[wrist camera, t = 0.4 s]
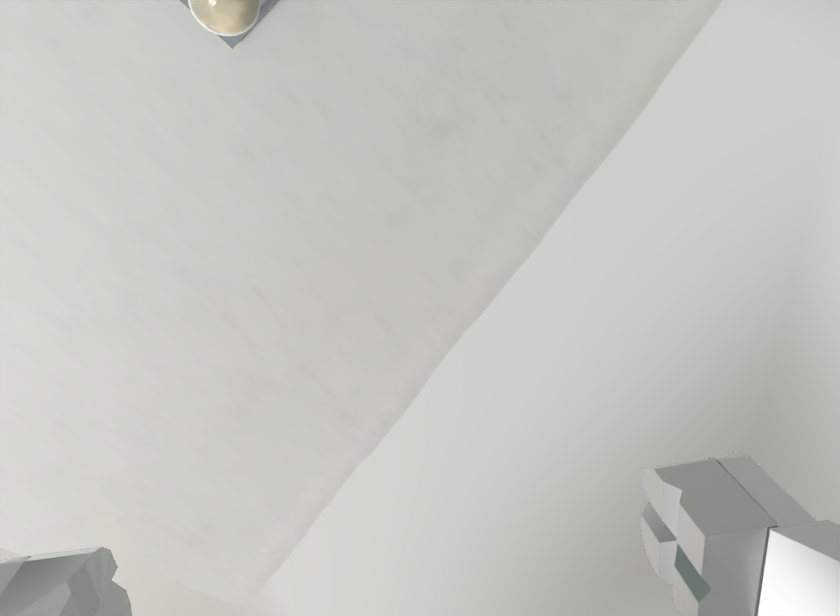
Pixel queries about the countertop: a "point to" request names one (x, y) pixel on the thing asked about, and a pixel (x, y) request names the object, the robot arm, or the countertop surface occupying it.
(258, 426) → the countertop surface
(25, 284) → the countertop surface
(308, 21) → the countertop surface
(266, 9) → the socket block
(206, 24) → the fuse
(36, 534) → the countertop surface
